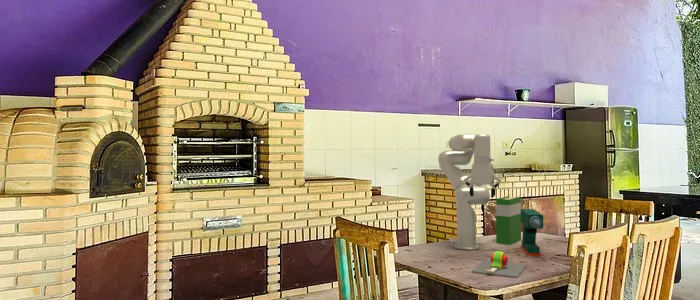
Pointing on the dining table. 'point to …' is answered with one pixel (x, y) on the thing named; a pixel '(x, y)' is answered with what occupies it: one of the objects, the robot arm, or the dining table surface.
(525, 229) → the power tool
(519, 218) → the hardback book
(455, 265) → the dining table surface
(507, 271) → the mat
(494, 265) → the toy measuring tape
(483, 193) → the robot arm
